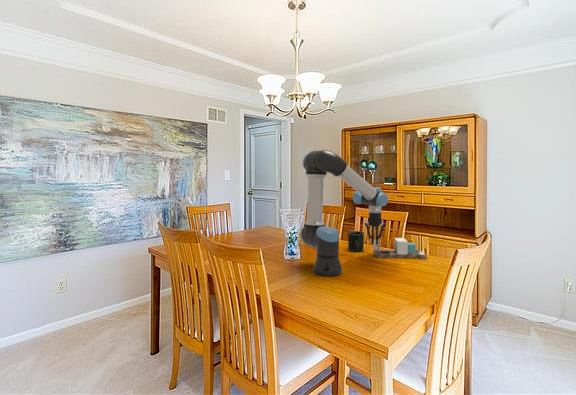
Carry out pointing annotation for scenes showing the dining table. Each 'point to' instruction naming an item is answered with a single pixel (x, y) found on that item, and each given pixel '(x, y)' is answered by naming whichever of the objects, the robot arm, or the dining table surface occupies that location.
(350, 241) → the mug
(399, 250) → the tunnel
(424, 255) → the deck
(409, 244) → the block
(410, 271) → the dining table surface
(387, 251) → the sled
